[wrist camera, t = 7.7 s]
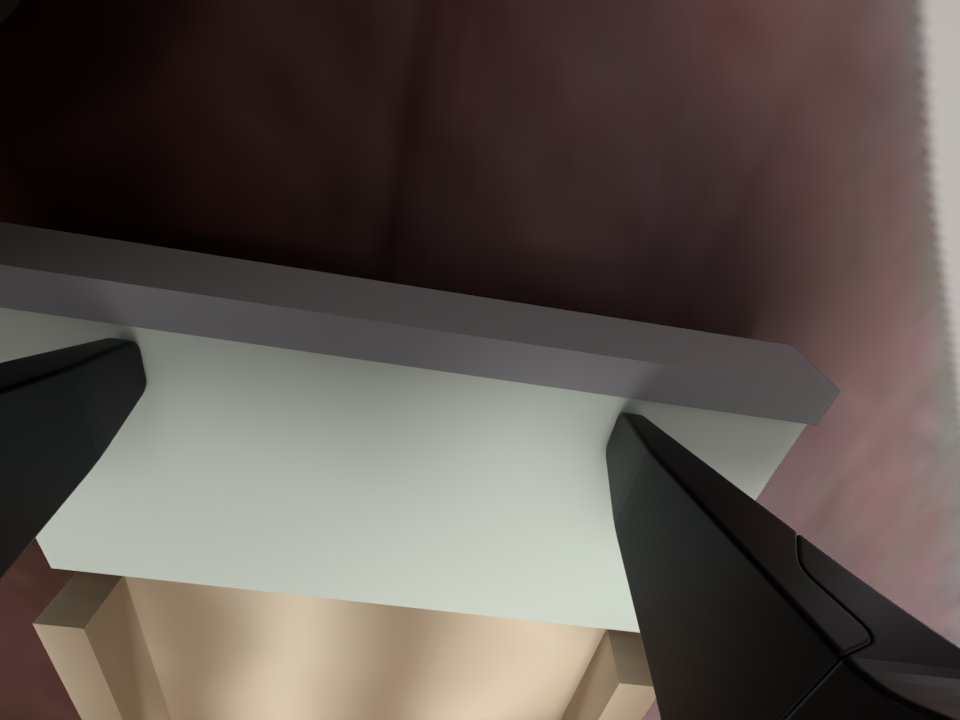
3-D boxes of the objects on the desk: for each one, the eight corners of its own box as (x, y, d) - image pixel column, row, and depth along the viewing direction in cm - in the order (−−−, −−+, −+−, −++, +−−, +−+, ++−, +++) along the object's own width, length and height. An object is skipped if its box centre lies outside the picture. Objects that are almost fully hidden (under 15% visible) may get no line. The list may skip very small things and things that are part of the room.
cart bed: (169, 696, 19) (119, 792, 17) (115, 525, 14) (32, 623, 12) (558, 732, 20) (568, 827, 18) (633, 585, 15) (662, 687, 13)
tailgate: (45, 575, 12) (-132, 245, 7) (91, 522, 13) (-35, 216, 9) (666, 642, 13) (840, 390, 8) (649, 587, 14) (792, 345, 10)
